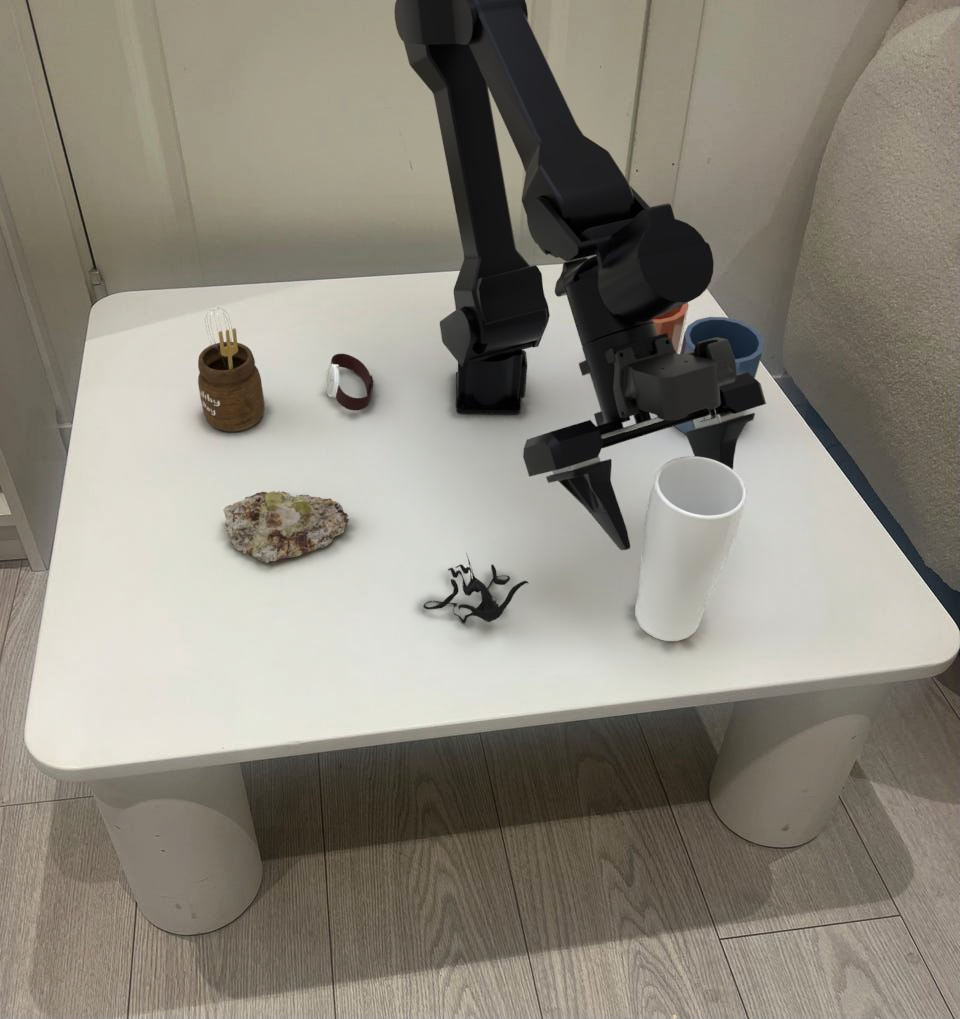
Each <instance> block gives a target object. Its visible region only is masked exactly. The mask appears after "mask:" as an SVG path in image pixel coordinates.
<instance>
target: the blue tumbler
mask: <svg viewBox="0 0 960 1019" xmlns="http://www.w3.org/2000/svg"><path fill="white" fill-rule="evenodd" d="M715 337H719V338H724V339H728V342H729V344H730V347H731V350H732V352H733V355H734V358H735V361H736V371H737V375H740V374H744V373H747V372H748V373H749V374H750V375H752V376H753V377H754V378H755V379H756V376H757V373H758V369H759V366H760V362H761V359H762V355H763V351H764V348H765V342H764V339H763V337H762V335H761V333H759V331H757V330H756V328H754V327H753V326H751V325H750V324H747V323H745V322H743V321H742V320H738V319H735V318H729V317H725V316H707V317H703V318H699V319H696V320H694V321H692V322H691V323H690V324H688V325H687V326H686V329H685V331H684V332H683V337H682V342H681V346H680V351H679V354H686V353H689V352H694V349H695V345H696V344H697V343H698V342H701V341H705V340H708V339H712V338H715ZM746 411H747V410H745V411H743V414H744V415H746V413H747V412H746ZM674 427H676V429H678V430H679V431H680V432H682V433H683V434H685V435H686V432H688V431H691V430H694V429H696V428H695V425H694V424H693V423H692V422H690V421H688V422H685V423H682V424H678V425H675V426H674Z"/></svg>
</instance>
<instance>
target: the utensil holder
mask: <svg viewBox="0 0 960 1019" xmlns="http://www.w3.org/2000/svg"><path fill="white" fill-rule="evenodd" d="M217 310H218V311H220V312H221V313H222V315H223V319H224V324H225V325H228V327H227V326H225V328H226V330H225V339H226V341H225V339H224V334H223V329H222V325H221V324H219V327H220V330H219V329H218V328H216V330H217V335H218V339H219V342H216V341H215V340H216V339H215V338H214V333H213V327H212V326H209V325H207V324H209V323H210V325H212V315H213V316H214V321H215V322H217V320H216V315H217V318H218V322H219V323H221V320H220V317H219V315H218V311H217ZM215 311H216V315H215V313H214V312H215ZM210 312H211V313H210ZM224 312H225V313H224ZM209 313H210V314H211V315H210V320H209V321H208V319H207V317H208V314H209ZM226 314H227V315H228V318H227V316H226ZM228 319H229V320H228ZM226 321H227V323H226ZM231 322H232V321H231V318H230V315H229V313H228V312H227V310H225V309H224V308H220V307H212V308H209V310H208V311H207V312H206V315H205V319H204V323H205V330H206V331H209V333H208V332H206V334H207V337H208V340H209V342H210V343H211V344H210V345H209V346H207V347H206V348H204V349H203V350H202V351H201V352H200V354H199V356H198V359H197V368H198V371H199V373H198V378H197V385H198V392H199V396H200V397H199V398H200V402H201V405H202V406H201V407H202V411H203V414H204V418H205V419H206V421H207V423H208V424H209V425H210V426H212V428H215V429H216V430H219V431H223V432H241V431H244V430H248V429H250V428H252V427H254V426H255V425H257V424H258V423H259V422H260V421H261V420H262V419H263V417H264V414H265V398H264V391H263V385H262V384H263V383H262V378H261V375H260V374H261V373H260V371H259V369H258V367H257V366H256V359H255V356H254V354H253V352H252V350H251V349H250V348H249V347H248V346H247V345H245V344H243V343H241V342H238V337H237V336H238V335H237V329H236V328H235V327H234V328H233V327H232V323H231ZM229 323H230V324H229ZM215 325H216V327H218V324H217V323H215ZM207 327H208V328H207ZM210 328H211V330H210ZM209 335H210V337H211V339H210V337H209ZM231 337H232V338H231ZM213 343H214V344H213Z"/></svg>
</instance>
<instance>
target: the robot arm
mask: <svg viewBox="0 0 960 1019" xmlns="http://www.w3.org/2000/svg"><path fill="white" fill-rule="evenodd" d="M528 13H529V12H528V6H527V1H526V0H395V2H394V22H395V27H396V30H397V31H396V32H397V34H398V36H399V38H400V40H401V41H402V42H403V45H404V49H405V53H406V57H407V60H408V61H407V62H408V64H409V66H410V68H411V69H412V70H413V71H414V72H415V73H416V75H417V76H418V77H419V78H420V79H421V81H422V82H423V83H424V84H425V85H426V87H427V88H428V89H429V90H430V91H431V93H432V95H433V98H434V103H435V104H434V105H435V109H436V115H437V119H438V125H439V130H440V135H441V141H442V146H443V151H444V156H445V162H446V167H447V168H446V169H447V172H448V178H449V184H450V188H451V189H450V190H451V194H452V199H453V205H454V209H455V215H456V220H457V225H458V226H457V227H458V230H459V235H460V241H461V246H462V252H463V262H462V264H461V267H460V270H459V273H458V276H457V278H456V281H455V284H454V287H453V299H454V307H455V310H454V311H452V312H451V313H450V314H448V315H447V316H444V318H442V319H441V320H439V328H440V329H439V330H440V336H441V342H442V344H443V345H444V346H445V348H446V349H447V350H448V351H449V353H450V354H451V356H452V357H453V358H455V360H456V361H457V367H456V368H457V369H456V370H457V371H456V372H455V411H456V413H458V414H496V415H497V414H499V415H501V414H502V415H503V414H504V415H507V414H509V415H510V414H511V415H518V414H520V413H521V409H522V406H521V399H524V397H526V388H527V387H526V386H527V377H528V376H527V375H528V358H527V351H526V349H530V348H537V347H539V346H540V344H541V341H542V339H543V337H544V334H545V331H546V329H547V326H548V324H549V319H550V310H549V304H548V301H547V298H546V296H545V292H544V284H543V274H542V271H541V270H540V269H539V267H538V266H537V265H536V264H533V265H530V263H528V261H527V260H526V259H525V258H524V256H523V255H522V254H521V252H519V251H518V250H517V249H518V248H517V247H516V242H515V237H514V236H515V235H514V230H513V225H512V219H511V213H510V208H509V200H508V196H507V189H506V184H505V180H504V179H505V178H504V171H503V166H502V160H501V157H500V156H501V155H500V150H499V142H498V139H497V138H498V137H497V132H496V127H495V126H496V125H495V121H494V116H493V109H492V104H491V98H490V97H492V99H493V101H494V103H495V105H496V108H497V110H498V112H499V114H500V117H501V118H502V121H503V123H504V126H505V127H506V129H507V132H508V134H509V136H510V138H511V141H512V143H513V145H514V147H515V150H516V151H517V154H518V156H519V158H520V160H521V163H522V167H523V169H524V172H525V176H524V181H523V188H522V189H523V190H522V192H521V193H522V195H521V203H522V206H523V209H524V212H525V215H526V223H527V227H528V231H529V234H530V236H531V238H532V240H533V242H534V243H535V244H536V245H538V247H539V249H540V251H541V252H543V253H544V254H545V255H546V256H549V255H550V256H552V257H554V258H557V259H558V258H559V259H561V260H563V261H565V262H563V264H562V270H561V273H560V276H559V277H558V279H557V281H556V283H555V286H554V294H555V296H556V297H557V298H560V297H564V296H566V298H567V301H568V304H569V308H570V311H571V314H572V318H573V321H574V324H575V329H576V332H577V335H578V337H579V341H580V344H581V349H582V352H583V356H584V359H585V360H583V361H581V362H578V366H579V369H580V373H581V376H587V375H590V379H591V382H592V385H593V388H594V392H595V395H596V399H597V402H598V405H599V409H600V411H598V412H595V413H593V416H594V419H595V423H596V425H595V424H594V423H593V421H592V420H591V419H588V420H585V421H581V422H578V423H575V424H571V425H568V426H565V427H561V428H558V429H554V430H552V431H548V432H545V433H542V434H539V435H536V436H534V437H530V438H527V439H526V441H525V443H524V447H523V454H522V458H523V461H524V464H525V467H526V471H527V474H528V477H534V476H537V475H542V474H547V473H550V472H552V474H550V475H547V476H545V479H546V481H547V483H550V484H551V483H554V482H558V483H559V484H560V485H562V487H563V488H565V490H566V491H568V492H569V493H570V495H572V497H574V498H575V499H576V500H577V501H578V503H580V504H581V505H582V506H583V507H584V508H585V509H586V510H587V512H588V513H589V514H590V515H591V517H592V518H593V519H594V520H595V522H597V524H598V525H599V526H600V527H601V529H602V530H603V531H604V532H605V533H606V535H607V536H608V537H609V538H610V539H611V541H612V542H613V543H614V544H615V545H616V547H617V548H618V549H619V550H620V551H627V550H630V549H631V543H630V539H629V538H630V537H629V532H628V528H627V525H626V523H625V519H624V516H623V513H622V511H621V508H620V504H619V502H618V499H617V496H616V493H615V490H614V486H613V484H612V462H613V461H612V458H609V459H605V460H601V458H600V453H601V451H602V449H606V448H609V447H611V446H614V445H618V444H621V443H624V442H628V441H630V440H634V439H637V438H640V437H643V436H646V435H649V434H652V433H656V432H659V431H663V430H665V429H668V428H671V427H676V426H675V425H678V424H682V423H685V422H688V421H690V422H692V423H693V424H694V425H695V428H696V429H694V430H691V431H688V432H686V434H685V435H686V437H687V440H688V443H689V445H690V448H691V451H692V453H693V456H697V457H704V458H709V459H713V460H716V461H718V462H720V463H723V464H724V465H726V466H728V467H729V468H731V469H732V470H733V471H734V462H735V454H736V449H737V448H736V447H737V442H738V439H739V437H740V435H741V433H742V432H743V430H744V428H745V427H746V424H748V423H749V422H753V421H754V419H755V415H756V414H755V412H752V413H748V414H745V415H744V414H743V411H745V410H746V411H748V410H751V409H755V408H758V407H761V406H764V405H766V404H767V401H766V396H765V394H764V390H763V387H762V384H761V382H759V380H757V379H756V377H755V378H754V377H753V376H752V375H750V374H749V373H748V372H747V373H744V374H740V375H737V371H736V361H735V358H734V355H733V352H732V350H731V347H730V344H729V342H728V339H724V338H719V337H715V338H712V339H708V340H705V341H701V342H698V343H697V344H696V345H695V349H694V352H689V353H686V354H680V353H679V354H677V353H676V351H675V349H674V347H673V343H672V340H671V339H670V338H669V337H668V334H667V333H665V334H661V335H658V334H657V331H656V327H655V324H654V320H653V319H654V318H656V317H658V316H660V315H662V314H664V313H667V312H669V311H671V310H673V309H675V308H677V307H679V306H681V305H683V304H685V303H687V302H688V303H689V302H692V301H694V300H695V299H697V298H699V297H700V296H702V295H703V293H705V291H707V290H708V287H709V285H710V284H711V281H712V277H713V274H714V264H715V263H714V256H713V252H712V248H711V245H710V244H709V242H706V240H705V239H704V237H703V236H702V234H701V233H700V232H699V231H698V230H697V229H696V228H695V227H694V226H692V225H690V224H689V223H687V222H685V221H682V220H680V219H676V217H675V214H674V210H673V207H672V204H671V203H669V202H667V203H662V204H659V205H655V206H650V205H649V204H648V203H647V202H646V201H645V200H644V199H643V198H642V197H641V195H639V193H638V192H637V191H636V190H635V189H634V188H633V187H632V185H630V183H629V181H628V179H627V178H626V176H625V174H624V173H623V171H622V170H621V169H620V166H618V164H617V162H616V161H615V158H614V157H613V156H612V154H611V153H610V151H608V150H607V149H606V148H604V147H602V146H601V145H600V144H598V143H596V142H595V141H594V140H592V139H590V138H589V137H588V136H586V135H584V133H583V132H582V130H581V129H580V127H579V125H578V124H577V121H576V119H575V117H574V115H573V113H572V110H571V109H570V107H569V105H568V102H567V100H566V99H565V96H564V94H563V92H562V90H561V88H560V86H559V83H558V82H557V79H556V77H555V75H554V73H553V71H552V69H551V67H550V65H549V62H548V60H547V58H546V56H545V53H544V52H543V50H542V48H541V45H540V43H539V41H538V39H537V37H536V35H535V32H534V31H533V29H532V27H531V25H530V22H529V20H528V19H529V14H528ZM490 95H491V96H490ZM588 257H590V258H588ZM651 415H655V416H656V417H654V418H651ZM632 416H633V419H634V422H635V423H633V424H631V425H627V426H625V427H624V425H623V424H624V423H627V422H630V421H631V417H632Z"/></svg>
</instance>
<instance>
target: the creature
mask: <svg viewBox="0 0 960 1019" xmlns="http://www.w3.org/2000/svg"><path fill="white" fill-rule="evenodd" d="M465 554H466V558H467V560H468V561H467V562H468V566H466V567H465V566H464V564H461V563H460V564H458V565H456V566H455V568H456V569H457V568H459V567H460V569H461V570H460V569H458V570H455V569H454V568H453V567H449V568H448V569H447V571H449V572H450V573H451V576H452V577H453V578H454V579H453V578H451V579H450V584H451V586H452V587H453V589H452V590H453V591H452V593H451V594H450V595H448V596H446V598H445V599H444V600H443V601H440V600H434V603H438V604H436V605H433V606H426V604H428V603H429V602H431V600H427V601H426V602H425V603H424V604H423V608H424V609H426V610H436V609H437V610H438V609H443V608H444V607H446V606H448V605H452V606H453V609H452V612H453V615H455V616H457V617H458V618H459V620H460V622H461V624H466V622H467V620H468V618H469V617H477V618H479V619H481V620H483V621H484V622H487V623H491V622H493V621H496V620H498V619H499V618H500V617H501V616H502V615H503V613H504V611H505V610H506V608H507V607H508V605H509V604H510V603H511V601H512V599H513V597H514V595H515V594H516V593H517V592H518V590H519V589H520V588H521V587H523V586H524V585H526V584H527V585H529V584H530V583H529V581H528V580H522V581H520V582H519V583H516V584H515V585H514V586H513V587H512V588H511V589H510V590H509V592H508V593H507V595H506V597H505V599H504V601H503V602H502V603H501V604H500V605H499V604H498V603H497V597H495V596H494V595H492V594H491V592H490V591H489V588H490V587H491V585H492V584H495V585H498V586H505V585H506V584H507V583H509V582H510V580H511V577H510V575H507V574H506V575H504V574H503V575H502V577H507V578H506V579H501V578H498V577H501V575H497V568H496V567H495V565H494V564H493V563H492V564H490V569H491V572H492V579H491V581H490V582H489V584H488V586H486V584H484V582H482V581H481V580H480V579H479V578H477V577H476V575H475V573H474V571H473V567H472V564H471V562H470V559H469V556H468V553H467V552H465ZM463 574H465V575H468V574H470V575H469V576H470V577H469V578H470V580H469V582H468V583H466V581H465V579H464V576H463ZM459 575H460V576H461V577H462V578H461V579H462V591H463V593H464V595H465V596H468V597H470V596H471V595H472V594H473V593H474V592H475V593H480V595H481V601H480V603H479V604H478V605H477V607H474V606H472V605H470V604H467V603H461V604H459V603H458V602H452V601H453V599H455V597H456V596H457V595H458V593H459V585H458V583H457V580H456V579H457V578H458V576H459ZM493 598H495V599H493ZM458 604H459V605H458ZM457 605H458V608H457V609H458V610H459V611H460V610H461V609H466V610H468V611H470V613H467V614H465V615H464V617H463V618H462V617H461V616H460V615H459V614H457V613H455V607H456V606H457Z"/></svg>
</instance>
